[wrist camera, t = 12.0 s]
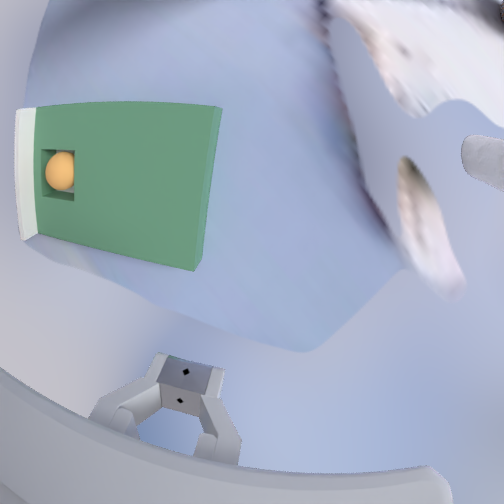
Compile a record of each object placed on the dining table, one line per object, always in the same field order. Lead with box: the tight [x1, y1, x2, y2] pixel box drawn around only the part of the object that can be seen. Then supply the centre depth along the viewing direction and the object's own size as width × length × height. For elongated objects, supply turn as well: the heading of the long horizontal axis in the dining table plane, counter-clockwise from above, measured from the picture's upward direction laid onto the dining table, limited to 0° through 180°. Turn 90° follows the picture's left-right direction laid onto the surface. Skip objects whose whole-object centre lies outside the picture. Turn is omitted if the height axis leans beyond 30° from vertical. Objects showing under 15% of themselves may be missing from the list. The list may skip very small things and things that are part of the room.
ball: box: [45, 152, 75, 190], centre depth 30 cm, size 5×5×5 cm
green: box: [14, 101, 222, 272], centre depth 29 cm, size 18×26×6 cm
